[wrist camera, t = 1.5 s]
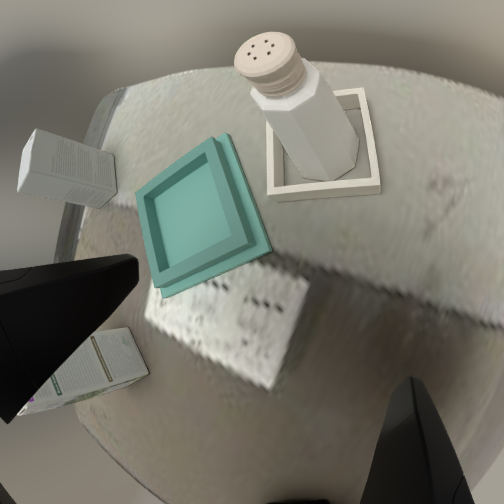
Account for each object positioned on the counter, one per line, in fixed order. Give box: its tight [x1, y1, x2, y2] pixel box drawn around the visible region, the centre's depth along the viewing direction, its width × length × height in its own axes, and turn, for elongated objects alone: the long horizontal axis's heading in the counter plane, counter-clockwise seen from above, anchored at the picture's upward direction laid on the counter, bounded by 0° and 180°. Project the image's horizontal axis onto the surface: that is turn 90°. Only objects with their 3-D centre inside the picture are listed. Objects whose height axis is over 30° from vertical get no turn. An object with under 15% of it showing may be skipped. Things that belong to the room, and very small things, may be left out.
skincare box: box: [17, 129, 117, 208], centre depth 26 cm, size 6×4×12 cm
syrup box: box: [17, 327, 149, 416], centre depth 20 cm, size 6×6×14 cm
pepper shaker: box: [234, 32, 360, 182], centre depth 14 cm, size 5×5×11 cm
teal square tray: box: [135, 132, 272, 298], centre depth 23 cm, size 11×11×2 cm
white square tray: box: [266, 88, 381, 202], centre depth 18 cm, size 8×8×2 cm
